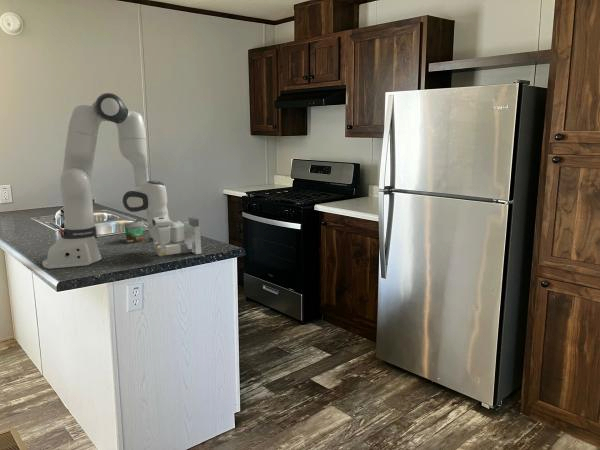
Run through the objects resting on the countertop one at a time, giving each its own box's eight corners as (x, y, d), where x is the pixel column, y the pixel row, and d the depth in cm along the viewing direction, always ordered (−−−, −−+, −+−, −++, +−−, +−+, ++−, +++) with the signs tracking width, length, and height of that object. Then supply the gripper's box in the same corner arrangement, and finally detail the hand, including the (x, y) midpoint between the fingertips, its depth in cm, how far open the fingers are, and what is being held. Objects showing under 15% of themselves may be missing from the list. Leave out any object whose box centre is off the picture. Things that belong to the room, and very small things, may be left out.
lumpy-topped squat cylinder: (173, 242, 244) (172, 225, 242) (155, 239, 251) (154, 222, 249) (189, 238, 252) (188, 221, 250) (172, 235, 259) (171, 219, 258)
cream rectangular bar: (159, 256, 219) (158, 247, 218) (157, 254, 222) (156, 246, 221) (187, 252, 225) (187, 244, 224) (184, 250, 228) (184, 242, 228)
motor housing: (195, 254, 221) (194, 220, 218) (184, 247, 234) (183, 215, 231) (201, 253, 223) (199, 219, 220) (190, 246, 235) (188, 214, 232)
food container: (137, 244, 240) (135, 223, 238) (125, 244, 242) (123, 223, 240) (149, 238, 252) (148, 219, 250) (138, 238, 253) (137, 218, 252)
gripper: (144, 215, 225) (146, 246, 228) (156, 223, 208) (158, 256, 210) (158, 214, 228) (160, 244, 231) (172, 221, 211) (173, 254, 214)
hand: (159, 250), depth 220 cm, fingers open, 8 cm apart
